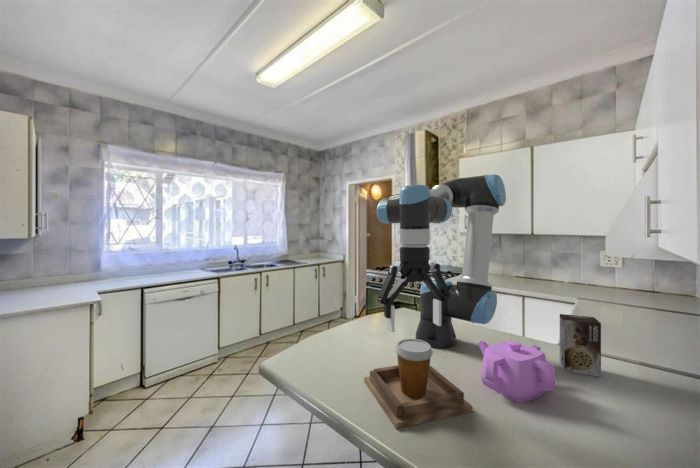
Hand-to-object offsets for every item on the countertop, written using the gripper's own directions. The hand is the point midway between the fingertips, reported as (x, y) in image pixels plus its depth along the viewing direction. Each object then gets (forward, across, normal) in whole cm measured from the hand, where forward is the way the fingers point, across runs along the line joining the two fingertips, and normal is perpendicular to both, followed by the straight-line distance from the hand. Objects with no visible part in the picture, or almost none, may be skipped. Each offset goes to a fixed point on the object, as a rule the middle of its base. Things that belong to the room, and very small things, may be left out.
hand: (414, 327), depth 74 cm
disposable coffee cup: (+17, +1, 0) cm, 17 cm away
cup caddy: (+18, 0, 0) cm, 18 cm away
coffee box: (+19, -56, +3) cm, 59 cm away
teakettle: (+18, -28, +4) cm, 34 cm away
